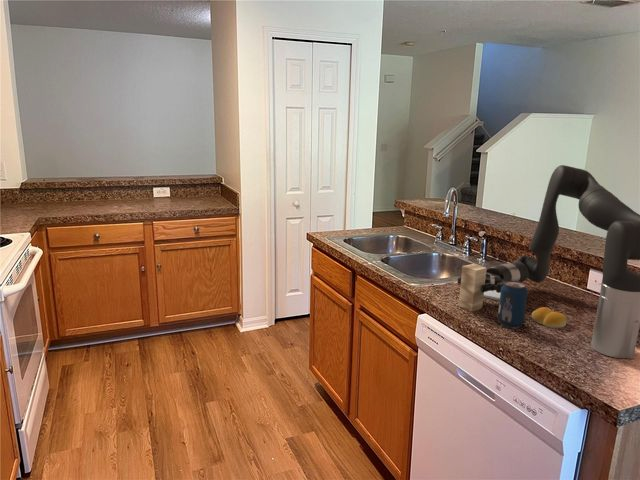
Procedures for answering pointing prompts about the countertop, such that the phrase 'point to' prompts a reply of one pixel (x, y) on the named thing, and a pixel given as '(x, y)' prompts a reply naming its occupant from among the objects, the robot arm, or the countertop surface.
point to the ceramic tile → (492, 295)
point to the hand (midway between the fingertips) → (469, 284)
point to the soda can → (512, 304)
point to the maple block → (472, 287)
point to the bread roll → (549, 318)
